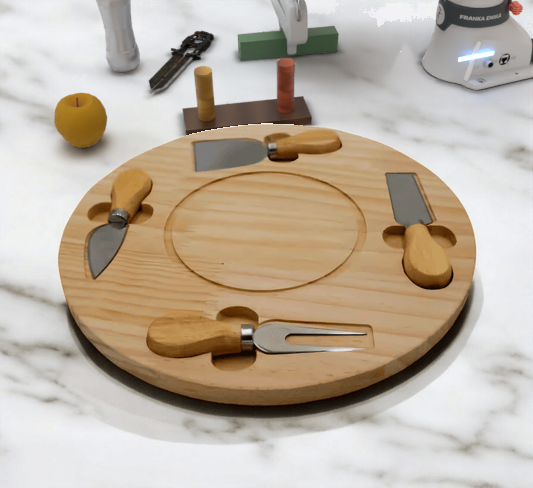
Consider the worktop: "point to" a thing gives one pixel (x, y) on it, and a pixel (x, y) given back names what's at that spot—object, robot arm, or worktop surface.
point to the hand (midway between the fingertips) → (287, 44)
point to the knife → (184, 61)
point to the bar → (275, 43)
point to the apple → (80, 119)
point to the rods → (246, 104)
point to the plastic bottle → (119, 34)
